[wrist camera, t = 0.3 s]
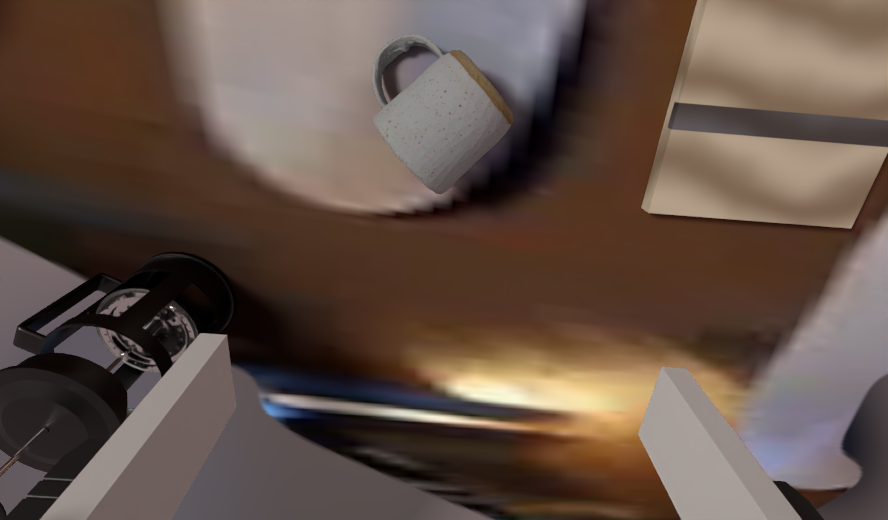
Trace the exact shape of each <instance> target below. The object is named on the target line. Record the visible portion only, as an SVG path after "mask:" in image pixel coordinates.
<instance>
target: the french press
mask: <svg viewBox="0 0 888 520" xmlns="http://www.w3.org/2000/svg"><path fill="white" fill-rule="evenodd" d="M157 271H164V272H169V273H171V274H170V275H169V276H168V277H166V278H165V279H164V280H163V281H162V282H160V283H159V284H158V285H157V286H155V287H154V288H153V289H151V288H148V285H149V281H150V279H151V277H152V276H153V275H154V273H155V272H157ZM191 283H193V284H195V285H196V286H197V287H198V288H200V289H201V290H202V291H203V292H204V294H205V295H206V296H207V297H208V299H209V300H210V302H211V303H212V306H213V308H214V311H215V314H216V319H215V320H214V321H213V322H211V323H210V324H208V325H205V326H202V327H198V326H197V323H196V321H195V319H194V317H193V316H192V314H191V313H190V312H189V311H188V309H187V308H186V307H185V306H184V305H183V304H182V303H181V302H179V301H178V300H177V299H175V298H176V297H177V296H178V295H179V294H180V293H181V292H182V291H183V290H185V289H186V288H187V287H188V286H189V285H190V284H191ZM97 290H99V291H102V292H104V293H106V294H107V295H105V296H104V297H102V298H101V299H100V300H98V301H97V302H96V303H94V304H93V305H91V306H90V307H88V308H87V309H86V310H84V311H83V312H82V313H80V314H79V315H77V316H76V317H74V318H71V319H69V320H68V321H66V322H65V323H63V324H62V325H60V326H59V327H57V328H56V329H55V330H53V331H52V332H50V333H49V334H48V335H47V336H45V335H42V334H39V333H37V332H36V331H38V330H39V329H40V328H42V327H43V326H44V325H46V324H48V323H49V322H51V321H52V320H54V319H55V318H57V317H58V316H59V315H61V314H62V313H64V312H65V311H67V310H68V309H70V308H71V307H73V306H74V305H75V304H77V303H78V302H80V301H81V300H83V299H84V298H86V297H87V296H88V295H90V294H92V293H93V292H95V291H97ZM235 305H236V301H235V295H234V292H233V289H232V286H231V285H230V283H229V281H228V280H227V278H226V277H225V276H224V275H223V273H222V272H221V271H220V270H219V269H218V268H216V267H215V266H214V265H213V264H211V263H210V262H208V261H206V260H205V259H203V258H200V257H198V256H195V255H193V254H188V253H184V252H167V253H161V254H158V255H156V256H153V257H152V258H150V259H149V260H147V261H146V262H144V263H143V264H142V266H141V267H140V268H139V269H138V270H137V271H136V272H135V273H133V274H132V275H130V276H129V277H127V278H126V279H125V281H124V282H123V281H120V280H118V279H116V278H114V277H112V276H110V275H107V274H105V273H99V274H97V275H96V276H94V277H92V278H91V279H89V280H88V281H86V282H85V283H83V284H82V285H80V286H78V287H77V288H75V289H74V290H72V291H71V292H69V293H67V294H66V295H64V296H63V297H61V298H60V299H58V300H57V301H55V302H53V303H52V304H51V305H49V306H47V307H46V308H44V309H43V310H41V311H40V312H38V313H36V314H35V315H33V316H32V317H30V318H28V319H27V320H25V321H24V322H22V323H21V324H20V325H18V327H17V330H16V334H15V338H14V341H13V344H14V345H15V346H17V347H19V348H21V349H24V350H26V351H28V352H31V353H33V354H36V355H35V356H32V357H29V358H28V359H26V360H24V361H23V362H21V363H20V364H18V365H17V366H11V367H8V368H4V369H1V370H0V449H1V450H2V451H3V452H5V453H6V454H7V455H9V456H10V457H12V458H11V459H9V460H8V461H7V462H6V463H5V464H4V465H3V466H2V467H1V468H0V477H1V476H2V475H3V474H4V473H5V472H6V471H7V470H8V469H9V468H10V467H11V466H12V465H13V464H14V463H16V462H17V461H19V462H21V463H23V464H25V465H27V466H30V467H32V468H35V469H38V470H41V471H44V472H49V471H50V470H51V469H52V468H53V466H54V465H55V464H56V463H57V462H58V461H59V460H60V459H61V458H62V457H63V456H64V455H65V454H67V453H68V452H70V451H71V450H73V449H74V448H76V447H77V446H79V445H80V444H82V443H83V442H85V441H86V440H88V439H105V440H109V439H110V438H111V436H112V435H113V434H114V433H115V432H116V431H117V429H118V428H119V427H120V426H121V425H122V424H123V422H124V421H125V420H126V419H127V418H128V417H129V416H130V414H131V413H132V412H133V411H134V410H135V409H136V408H134V409H129V408H127V390H128V389H129V388H130V387H131V386H132V384H133V383H134V382H135V381H136V380H137V379H138V378H139V377H140V376H141V375H142V374H143V373H144V372H145V371H147V372H152V373H161V376H162V377H163V376H164V375H165V374H166V373H167V371H168V370H169V369H170V368H171V367H172V366H173V364H174V363H175V362H176V361H177V360H178V359H179V358H180V356H181V355H182V354H183V353H184V352H185V351H186V349H187V348H188V347H189V346H190V345H191V344H192V342H193V341H194V340H195V339H196V338H197V337H198V335H199V334H200V333H207V334H218V333H219V332H221V331H222V330H223V329H225V328H226V327H227V326H228V324H229V323H230V321H231V320H232V318H233V315H234V312H235ZM83 326H95V327H96V329H97V332H98V335H99V337H100V339H101V340H102V342H103V344H104V345H105V346H106V347H107V349H108V350H109V351H110V352H111V353H112V354H113V355H114V356H116V357H117V359H116V360H115V361H114V362H113V363H112V364H111V365H110V366H109V367H108V368H107V369H104V368H103V367H102V366H100V365H98V364H96V363H94V362H92V361H90V360H87V359H84V358H81V357H78V356H74V355H69V354H64V353H54V348H55V347H56V346H57V345H59V344H60V343H61V342H63V341H64V340H65V339H67V338H68V337H69V336H70V335H72V334H73V333H75V332H76V331H77V330H79V329H80V328H81V327H83ZM121 361H123V362H124V364H123V365H122V366H121V367H120V368H119V369H118V370H117V371H116V372H115V373H114V374H112V373H111V372H110V371H112V369H114V368H115V367H116V366H117V365H118V364H119V363H120V362H121ZM6 516H7V515H6V511H5V510H4V507H3V505H2V504H1V503H0V520H4V519H5V518H6Z"/></svg>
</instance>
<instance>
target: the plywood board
mask: <svg viewBox="0 0 888 520" xmlns="http://www.w3.org/2000/svg"><path fill="white" fill-rule="evenodd" d="M887 153H888V0H697V4H696V7H695V11H694V15H693V18H692V22H691V26H690V29H689V33H688V37H687V40H686V44H685V48H684V52H683V55H682V59H681V63H680V66H679V70H678V74H677V77H676V81H675V85H674V89H673V92H672V96H671V100H670V103H669V107H668V111H667V114H666V118H665V122H664V126H663V129H662V133H661V137H660V140H659V144H658V148H657V151H656V155H655V159H654V163H653V166H652V170H651V174H650V177H649V181H648V185H647V188H646V192H645V196H644V200H643V203H642V207H641V208H643V209H644V210H645V211H646V212H648V213H655V214H668V215H681V216H694V217H707V218H720V219H733V220H746V221H760V222H773V223H786V224H799V225H812V226H825V227H838V228H852V226H853V224H854V222H855V220H856V218H857V216H858V214H859V212H860V209H861V207H862V205H863V203H864V201H865V199H866V197H867V195H868V193H869V191H870V189H871V186H872V184H873V182H874V180H875V178H876V176H877V174H878V172H879V170H880V168H881V166H882V164H883V161H884V159H885V157H886V155H887Z"/></svg>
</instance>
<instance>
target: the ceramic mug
mask: <svg viewBox="0 0 888 520" xmlns="http://www.w3.org/2000/svg"><path fill="white" fill-rule="evenodd" d="M411 46H420V47H426V48H427V49H429V50H430V51H432V52H433V53H435V54H436V55H437V56H438V57H439V59H438V60H436V61H435V62H434V63H433V64H431V65H430V66H429V67H428V68H427V69H426V70H425V71H424V72H423V73H422V74H421V75H420V76H419V77H418V78H417V79H416V80H415V81H414V82H412V83H411V84H410V85H409V86H408V87H406V88H405V89H404V90H403V91H402V92H401V93H399V94H398V95H397V96H396V97H395V98H394V99H393V100H392V101H391V102H389V103H387V101H386V98H385V96H384V93H383V89H382V80H381V79H382V74H383V71H384V70H385V68H386V66H387V65H388V64H389V63H390V62H391V61H393V60H394V59H395V58H396V57H397V56H399V55H400V54H402V53H403V52H407V51H408V50H409V48H410V47H411ZM372 85H373V89H374V92H375V96H376V98H377V100H378V102H379V104H380V106H381V107H382V110H381V111H379V112H378V113H377V114H376V115H375V116H374V118H373V121H374V125H375V127H376V128H377V130H378V132H379V134H380V135H381V137H382V138H383V139H384V141H385V142H386V143H387V145H388V146H389V147H390V149H391V150H392V151H393V152H394V154H395V155H396V156H397V157H398V158H399V159H400V161H401V162H402V163H403V164H404V165H405V166H406V167H407V168H408V169H409V170H410V171H411V172H412V173H413V174H414V175H415V176H416V177H417V178H418V179H419V180H420V181H421V182H422V183H423V184H424V185H425V186H426V187H427V188H429V189H430V190H432V191H434V192H435V193H437V194H443V193H444V192H446V191H447V190H448V189H449V188H450V187H451V186H452V185H453V184H454V183H455V182H456V181H457V180H458V179H459V178H460V177H461V176H462V175H464V174H465V173H466V172H467V171H468V170H469V169H470V168H471V167H472V166H473V165H474V164H475V163H476V162H477V161H478V160H479V159H480V158H481V157H482V156H483V155H484V154H486V153H487V152H488V151H489V150H490V149H491V148H492V147H493V146H495V145H496V144H497V143H498V142H499V141H500V140H501V139H502V137H503V136H504V135H505V134H506V132H507V131H508V130H509V129H510V127H511V125H512V123H513V113H512V111H511V110H510V108H509V107H508V105H507V103H506V102H505V101H504V99H503V98H502V97H501V95H500V94H499V93H498V92H497V90H496V89H495V87H494V86H493V85H492V84H491V82H490V81H489V80H488V79H487V78H486V77H485V75H484V74H483V73H482V72H481V71H480V70H479V68H478V67H477V66H476V65H475V64H474V63H473V62H472V60H471V59H470V58H469V57H468V56H467V55H466V54H464V53H463V52H462V51H457V50H452V51H451V52H449V53H447V54H445V55H444V54H443V53H442V51H441V50H440V49H439V48H438V47H437V45H435V44H434V43H433V42H431V41H430V40H429V39H427V38H425V37H423V36H420V35H412V34H409V35H402V36H400V37H397V38H395V39H393V40H392V41H390V42H389V43H388V44H387V45H386V46H384V47H383V48H382V49H381V51H380V52H379V53H378V54H377V56H376V58H375V60H374V63H373V67H372Z"/></svg>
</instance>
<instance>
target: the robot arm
mask: <svg viewBox="0 0 888 520" xmlns="http://www.w3.org/2000/svg"><path fill="white" fill-rule="evenodd" d="M235 409H236V400H235V393H234V385H233V377H232V370H231V362H230V354H229V347H228V339H227V335H221V334H207V333H200V334H199V335H198V337H197V338H196V339H195V340H194V341H193V342H192V344H191V345H190V346H189V347H188V348H187V349H186V351H185V352H184V353H183V354H182V355H181V356H180V358H179V359H178V360H177V361H176V362H175V363H174V364H173V366H172V367H171V368H170V369H169V370H168V371H167V373H166V374H165V375H164V376H163V377H162V378H161V380H160V381H159V382H158V383H157V384H156V385H155V387H154V388H153V389H152V390H151V391H150V392H149V393H148V395H147V396H146V397H145V398H144V399H143V400H142V402H141V403H140V404H139V405H138V406H137V407H136V409H135V410H134V411H133V412H132V413H131V414H130V416H129V417H128V418H127V419H126V420H125V421H124V422H123V424H122V425H121V426H120V427H119V428H118V429H117V431H116V432H115V433H114V434H113V435H112V436H111V438H110V439H109V440H105V439H88V440H86V441H85V442H83V443H82V444H80V445H79V446H77V447H76V448H74V449H73V450H71V451H70V452H68V453H67V454H65V455H64V456H63V457H62V458H61V459H60V460H59V461H58V462H57V463H56V464H55V465H54V466H53V468H52V469H51V470H50V471H49V472H48V473H47V474H46V475H45V476H44V479H43V481H39V482H38V483H37V485H36V486H35V487H34V488H33V489H32V490H31V491H30V492H29V493H28V496H27V498H26V499H23V500H22V501H21V502H20V503H19V504H18V505H17V506H16V507H15V508H14V509H13V510H12V511H11V512H10V513H9V514H8V515H7V516H6V518H5V519H4V520H171V518H172V517H173V515H174V513H175V512H176V510H177V508H178V506H179V505H180V503H181V501H182V499H183V498H184V496H185V494H186V493H187V491H188V489H189V488H190V486H191V484H192V482H193V480H194V479H195V477H196V475H197V474H198V472H199V470H200V468H201V467H202V465H203V463H204V462H205V460H206V458H207V456H208V455H209V453H210V451H211V450H212V448H213V446H214V445H215V443H216V441H217V439H218V438H219V436H220V434H221V432H222V431H223V429H224V427H225V426H226V424H227V422H228V421H229V419H230V417H231V415H232V414H233V412H234V410H235ZM638 435H639V437H640V439H641V441H642V443H643V445H644V447H645V449H646V451H647V453H648V455H649V457H650V459H651V461H652V463H653V465H654V466H655V468H656V470H657V472H658V474H659V476H660V478H661V480H662V482H663V484H664V486H665V488H666V490H667V492H668V494H669V496H670V498H671V500H672V502H673V504H674V506H675V508H676V510H677V512H678V514H679V516H680V518H681V520H824V519H823V518H822V517H821V515H820V514H819V513H818V512H817V511H816V509H815V508H814V507H813V506H812V504H811V503H810V502H809V501H808V500H807V499H806V498H805V497H803V496H802V495H801V494H800V493H799V492H797V491H796V490H795V489H794V488H792V487H791V486H790V485H789V484H788V483H786V482H783V481H772V480H771V478H770V477H769V476H768V475H767V473H766V472H765V471H764V469H763V468H762V467H761V465H760V464H759V463H758V461H757V460H756V459H755V458H754V456H753V455H752V454H751V452H750V451H749V450H748V448H747V447H746V446H745V444H744V443H743V442H742V441H741V439H740V438H739V437H738V435H737V434H736V433H735V431H734V430H733V429H732V427H731V426H730V425H729V424H728V422H727V421H726V420H725V418H724V417H723V416H722V414H721V413H720V412H719V410H718V409H717V408H716V407H715V405H714V404H713V403H712V401H711V400H710V399H709V397H708V396H707V395H706V394H705V392H704V391H703V390H702V388H701V387H700V386H699V384H698V383H697V382H696V380H695V379H694V378H693V377H692V375H691V374H690V373H689V371H688V370H687V369H686V368H673V367H662V368H661V371H660V373H659V376H658V379H657V382H656V385H655V387H654V390H653V393H652V396H651V399H650V402H649V404H648V407H647V410H646V413H645V416H644V418H643V421H642V424H641V427H640V430H639V433H638Z"/></svg>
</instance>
